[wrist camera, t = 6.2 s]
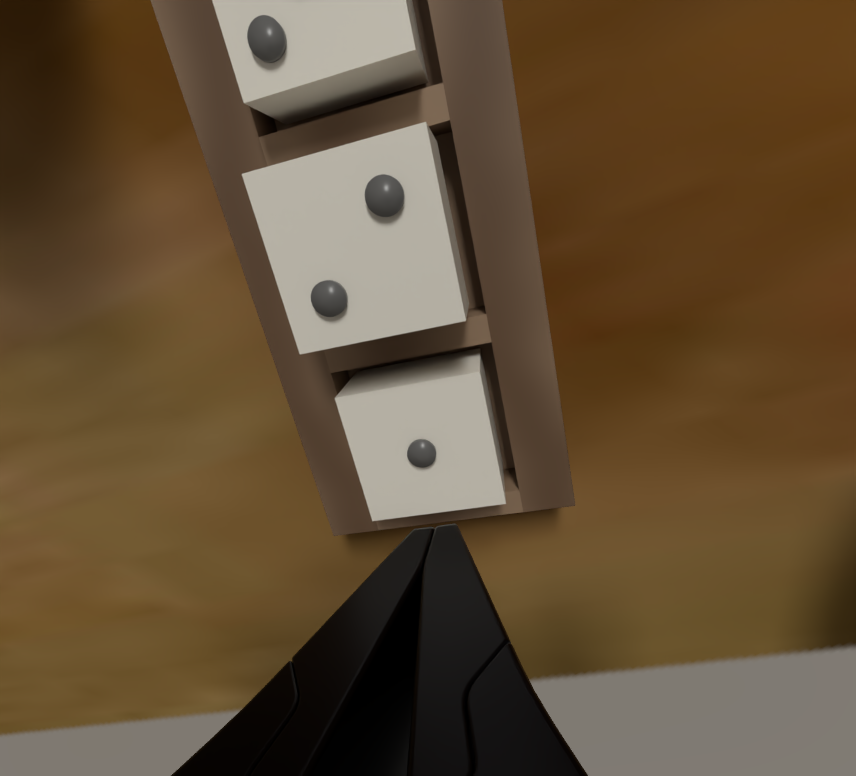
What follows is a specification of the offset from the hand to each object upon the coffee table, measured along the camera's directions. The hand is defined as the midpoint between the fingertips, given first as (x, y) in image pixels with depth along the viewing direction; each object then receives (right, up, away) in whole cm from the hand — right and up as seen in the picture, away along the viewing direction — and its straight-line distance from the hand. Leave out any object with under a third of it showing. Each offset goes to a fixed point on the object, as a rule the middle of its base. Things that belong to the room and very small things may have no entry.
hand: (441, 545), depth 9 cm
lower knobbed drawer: (0, +2, +10) cm, 10 cm away
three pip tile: (-3, +15, +6) cm, 16 cm away
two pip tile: (-2, +8, +6) cm, 10 cm away
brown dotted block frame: (-2, +9, +9) cm, 12 cm away
